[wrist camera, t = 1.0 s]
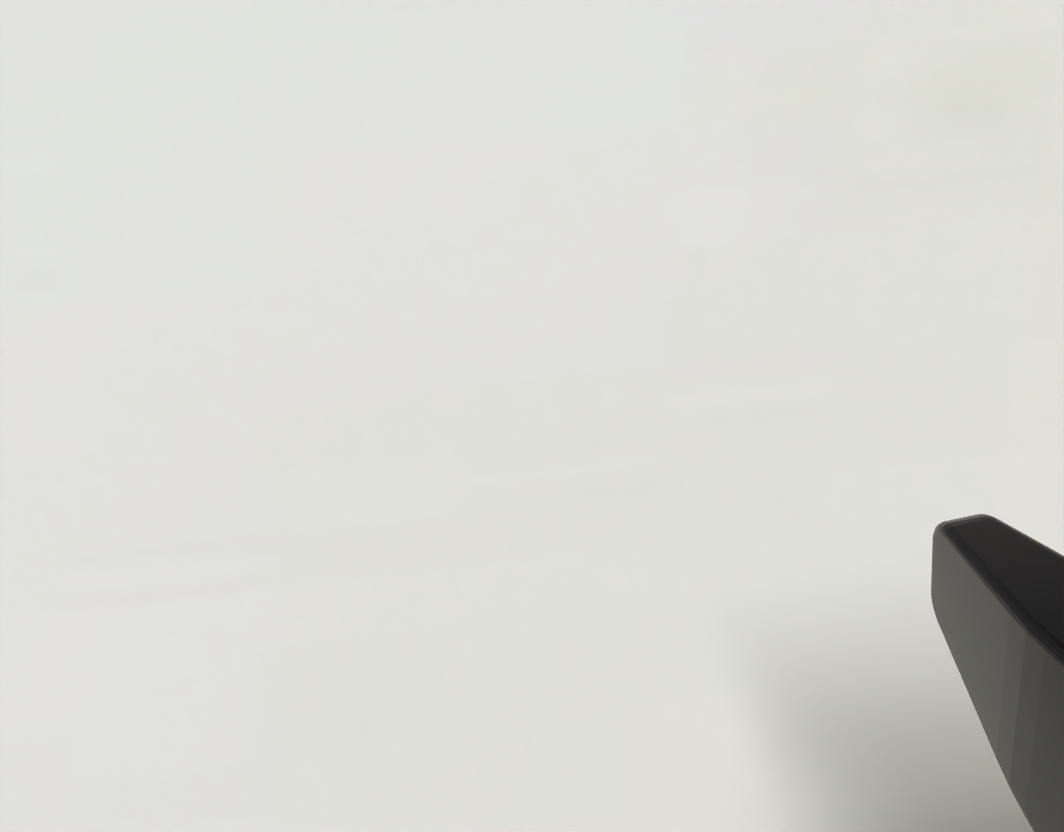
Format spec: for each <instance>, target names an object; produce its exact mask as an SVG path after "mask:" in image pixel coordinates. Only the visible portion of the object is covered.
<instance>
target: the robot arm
mask: <svg viewBox="0 0 1064 832" xmlns="http://www.w3.org/2000/svg"><path fill="white" fill-rule="evenodd" d="M931 596H932V603H933V608H934V611H935V615H936V618H937V620H938V623H939V625H940V628H941V630H942V632H943V635H944V637H945V639H946V642H947V644H948V646H949V649H950V651H951V653H952V656H953V658H954V660H955V663H956V665H957V667H958V670H959V672H960V674H961V677H962V679H963V681H964V684H965V686H966V688H967V691H968V693H969V695H970V698H971V700H972V702H973V705H974V707H975V709H976V712H977V714H978V716H979V719H980V721H981V723H982V726H983V728H984V730H985V733H986V735H987V737H988V740H989V742H990V744H991V747H992V749H993V751H994V754H995V756H996V758H997V760H998V763H999V765H1000V767H1001V769H1002V772H1003V774H1004V776H1005V778H1006V780H1007V783H1008V785H1009V787H1010V789H1011V791H1012V792H1013V794H1014V796H1015V798H1016V800H1017V802H1018V804H1019V806H1020V807H1021V809H1022V811H1023V813H1024V815H1025V817H1026V818H1027V820H1028V822H1029V824H1030V825H1031V827H1032V829H1033V831H1034V832H1064V556H1063V555H1061V554H1059V553H1058V552H1056V551H1054V550H1052V549H1050V548H1049V547H1047V546H1045V545H1043V544H1041V543H1040V542H1038V541H1036V540H1034V539H1032V538H1031V537H1029V536H1027V535H1025V534H1023V533H1022V532H1020V531H1018V530H1016V529H1015V528H1013V527H1011V526H1009V525H1007V524H1006V523H1004V522H1002V521H1000V520H998V519H997V518H994V517H992V516H989V515H985V514H978V515H973V516H968V517H963V518H959V519H954V520H949V521H944V522H942V523H940V524H938V525H937V527H936V528H935V531H934V534H933V548H932V582H931Z"/></svg>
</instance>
